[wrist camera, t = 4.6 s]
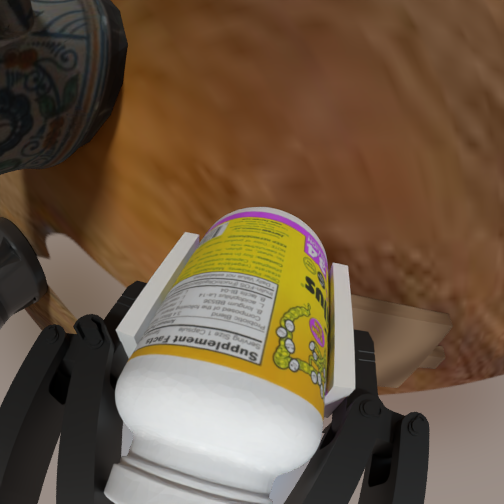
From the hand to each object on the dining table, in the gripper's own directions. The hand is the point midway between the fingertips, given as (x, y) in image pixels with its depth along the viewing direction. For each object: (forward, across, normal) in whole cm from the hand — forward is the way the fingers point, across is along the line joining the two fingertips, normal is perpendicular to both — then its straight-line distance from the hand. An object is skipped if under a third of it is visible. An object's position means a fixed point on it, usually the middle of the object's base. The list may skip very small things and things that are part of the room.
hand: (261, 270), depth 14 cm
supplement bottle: (+1, 0, 0) cm, 1 cm away
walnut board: (+6, +10, -11) cm, 16 cm away
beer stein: (+7, -19, +12) cm, 24 cm away
